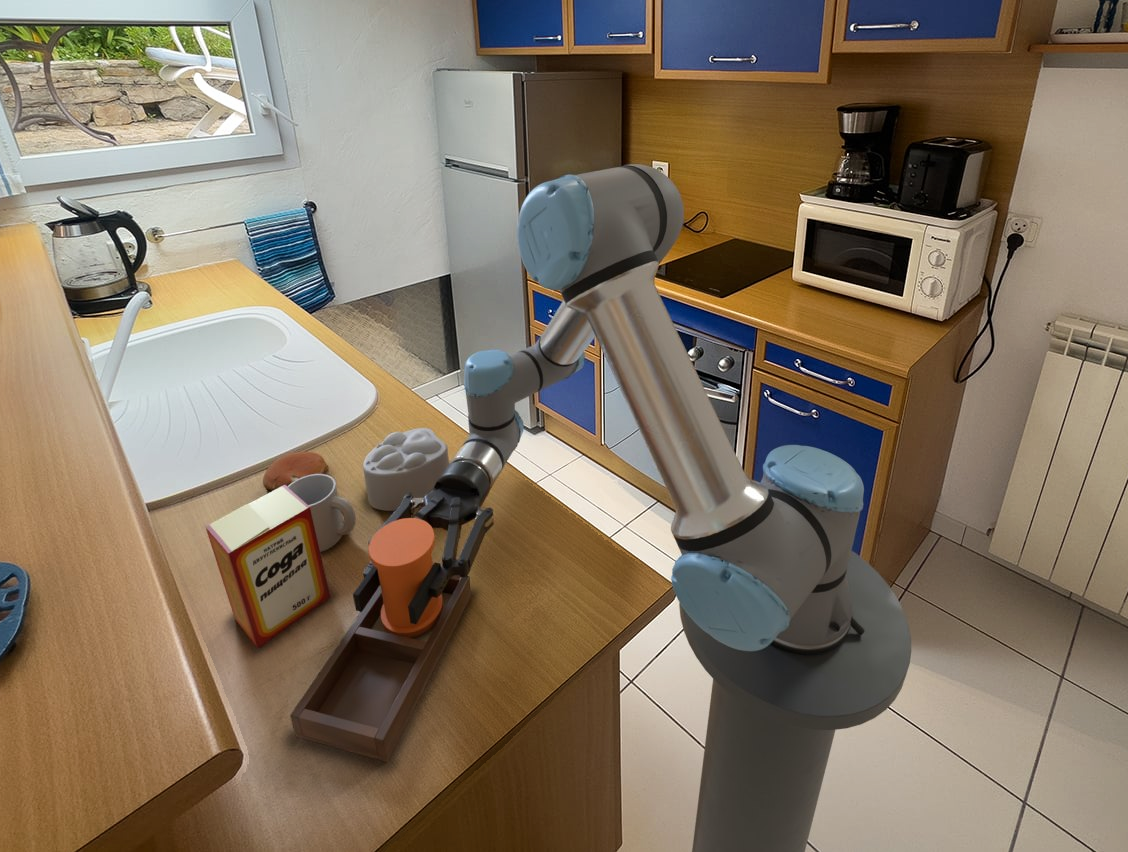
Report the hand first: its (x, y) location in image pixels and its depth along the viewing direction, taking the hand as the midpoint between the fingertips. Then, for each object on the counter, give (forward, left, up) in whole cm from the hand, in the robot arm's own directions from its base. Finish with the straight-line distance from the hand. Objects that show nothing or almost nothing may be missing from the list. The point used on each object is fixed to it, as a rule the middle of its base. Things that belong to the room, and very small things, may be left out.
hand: (384, 609), depth 70 cm
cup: (+20, -15, -9) cm, 26 cm away
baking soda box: (+18, -3, -9) cm, 20 cm away
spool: (0, -5, -6) cm, 8 cm away
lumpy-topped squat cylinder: (+14, -28, -9) cm, 32 cm away
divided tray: (0, 0, -8) cm, 8 cm away
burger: (+32, -24, -9) cm, 41 cm away
